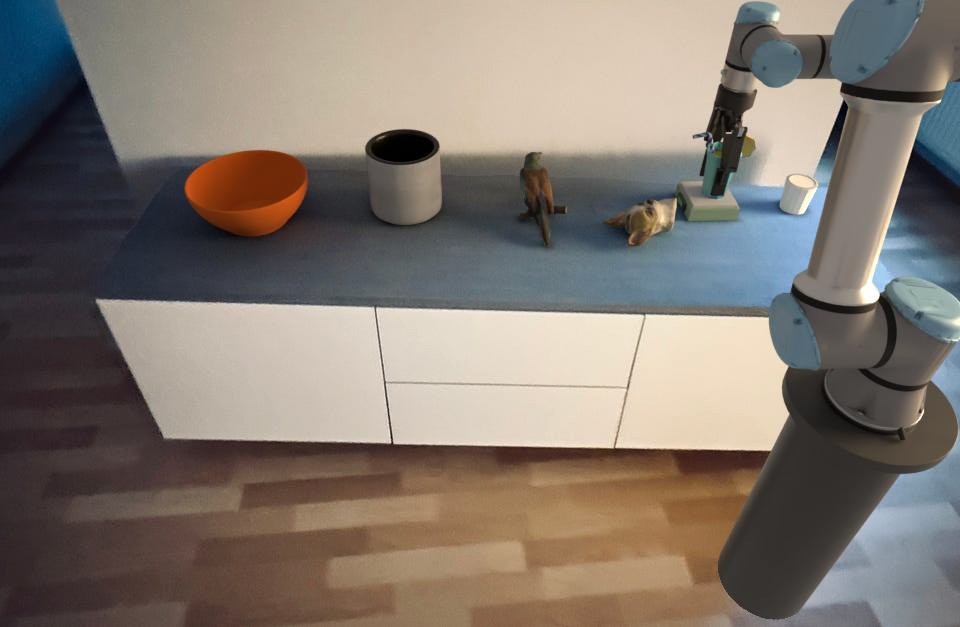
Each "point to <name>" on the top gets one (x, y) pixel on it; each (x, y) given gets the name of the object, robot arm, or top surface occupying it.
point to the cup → (719, 161)
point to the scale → (705, 203)
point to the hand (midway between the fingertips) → (711, 184)
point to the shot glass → (797, 193)
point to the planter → (404, 176)
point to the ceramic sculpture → (645, 220)
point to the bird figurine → (538, 195)
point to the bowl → (248, 191)
